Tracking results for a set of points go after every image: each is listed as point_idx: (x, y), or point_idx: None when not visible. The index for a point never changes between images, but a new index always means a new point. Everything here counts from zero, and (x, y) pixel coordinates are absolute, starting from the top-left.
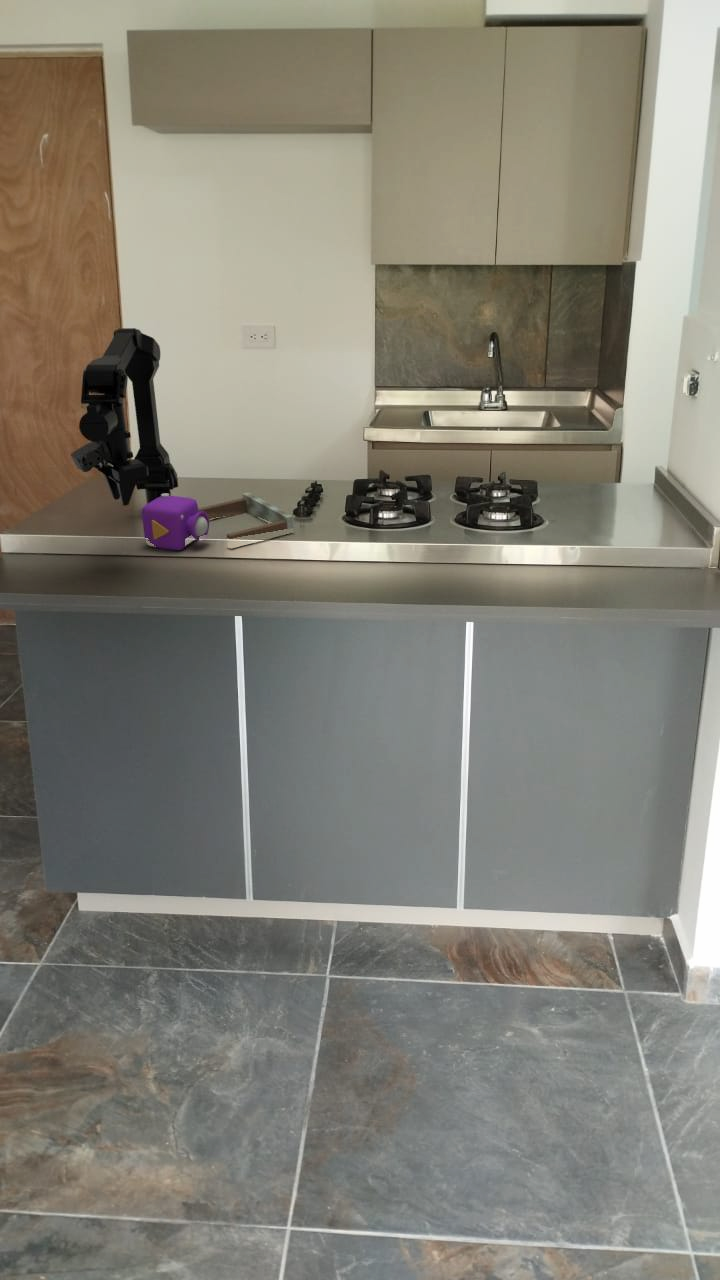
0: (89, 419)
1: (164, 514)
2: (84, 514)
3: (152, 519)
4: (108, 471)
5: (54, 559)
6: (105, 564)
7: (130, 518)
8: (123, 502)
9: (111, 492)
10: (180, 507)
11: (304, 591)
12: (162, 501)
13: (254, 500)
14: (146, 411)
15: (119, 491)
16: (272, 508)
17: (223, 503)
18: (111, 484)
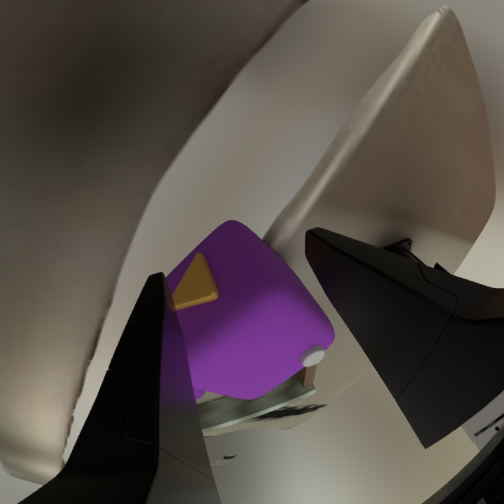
0: None
1: (191, 346)
2: (455, 146)
3: (220, 296)
4: (471, 366)
5: None
6: (153, 79)
7: (401, 212)
8: (143, 292)
9: (350, 242)
10: (200, 388)
11: None
12: (276, 353)
13: (279, 403)
14: None
15: (136, 362)
16: (229, 422)
17: (312, 367)
18: (382, 291)
